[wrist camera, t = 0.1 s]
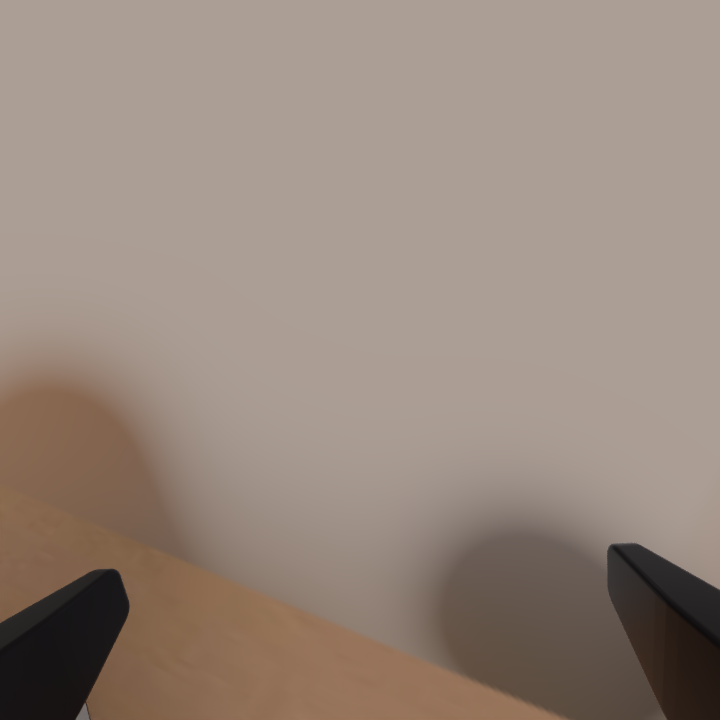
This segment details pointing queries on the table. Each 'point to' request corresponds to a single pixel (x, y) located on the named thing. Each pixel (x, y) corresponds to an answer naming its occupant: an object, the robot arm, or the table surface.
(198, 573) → the table surface
